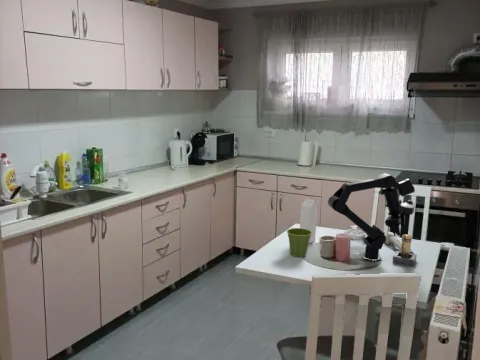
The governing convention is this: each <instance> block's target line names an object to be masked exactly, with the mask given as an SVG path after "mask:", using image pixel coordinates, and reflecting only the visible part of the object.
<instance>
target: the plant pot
mask: <svg viewBox="0 0 480 360" xmlns="http://www.w3.org/2000/svg"><path fill="white" fill-rule="evenodd" d="M286 233H287V237H288V243H289V252H290V253H289V254H290V256H293V257H299V258H302V257H305V256H306V255H307V254H308V253H307V252H308V247H309V244H310V243H309V239H310V236H311V234H312V231H310V230H308V229H303V228H300V227H294V228H289V229H287V230H286ZM308 243H309V244H308Z"/></svg>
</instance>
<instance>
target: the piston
mask: <svg viewBox="0 0 480 360" xmlns="http://www.w3.org/2000/svg"><path fill="white" fill-rule="evenodd" d="M412 237H413V236H412V235H411V234H406V233H404V234H402V235H401V242H402V244H401V253H400V257H405V258H409V256H410V249H411V246H412V240H413V238H412Z"/></svg>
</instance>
